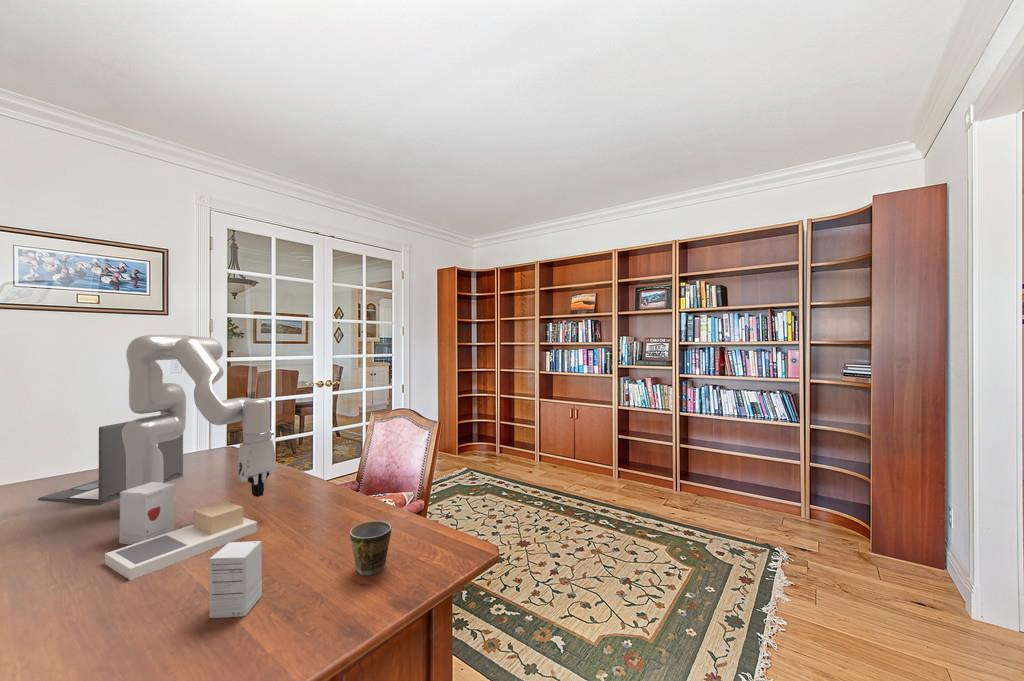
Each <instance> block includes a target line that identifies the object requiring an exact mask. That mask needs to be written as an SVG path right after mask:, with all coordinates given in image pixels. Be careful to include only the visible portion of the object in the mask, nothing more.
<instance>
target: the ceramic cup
mask: <svg viewBox="0 0 1024 681" xmlns="http://www.w3.org/2000/svg"><path fill="white" fill-rule="evenodd" d="M391 534H392V525H391V523H389V522H387V521H384V520H372V521H371V520H370V521H366V522H362V523H359V524H357V525H355V526H353V527H352V528H351V529H350V531H349V537H350V543H351V548H352V551H353V558H354V563H355V568H356V571H357V573H359V574H360V575H361V576H373V575H375V574H378V573H380V572H382V570H383V569H384V567H385V566H386V562H387V556H388V550H389V544H390V540H391V536H392V535H391Z"/></svg>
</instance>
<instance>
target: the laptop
mask: <svg viewBox="0 0 1024 681" xmlns="http://www.w3.org/2000/svg"><path fill="white" fill-rule="evenodd" d="M131 421H132V420H131ZM131 421H126V422H125V421H124V422H119V423H113V424H107V425H103V426H99V427H98V479H97V480H94V481H91V482H87V483H84V484H81V485H78V486H75V487H74V486H73V487H71V488H67V489H63V490H61V491H57V492H54V493H50V494H46V495H43V496H40V497H38V498H37V501H43V502H55V503H71V504H82V505H83V504H84V505H96V506H98V505H99V506H101V505H103V504H104V505H105V504H106V503H110V502H113V501H115V500H119V499H120V492H122V491H125V490H126V454H125V447H124V443H123V440H122V430H123V428H124V426H125V425H126V424H127V423H129V422H131ZM156 445H157V447H158V448H159V450H160V451H161V452H162V454H163V466H164V468H163V483H167V482H171V481H174V480H176V479H180V478H182V477H184V433H183V434H182V435H181V436H180V437H178V438H176V439H173V440H170V441H165V442H161V443H158V444H156ZM118 498H119V499H118Z"/></svg>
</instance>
